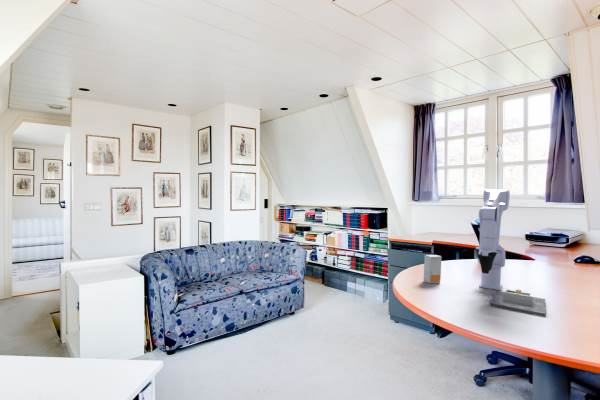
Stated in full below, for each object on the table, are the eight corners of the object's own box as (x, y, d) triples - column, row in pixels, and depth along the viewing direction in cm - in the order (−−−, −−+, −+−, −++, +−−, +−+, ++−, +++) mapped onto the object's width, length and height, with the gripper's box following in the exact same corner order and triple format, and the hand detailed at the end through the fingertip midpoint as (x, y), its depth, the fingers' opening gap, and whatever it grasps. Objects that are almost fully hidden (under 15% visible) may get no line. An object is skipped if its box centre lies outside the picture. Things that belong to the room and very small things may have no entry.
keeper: (496, 293, 135) (496, 280, 134) (545, 301, 125) (545, 288, 125) (489, 305, 118) (490, 292, 118) (545, 316, 109) (546, 301, 109)
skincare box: (429, 283, 146) (430, 256, 146) (423, 281, 151) (424, 254, 150) (440, 283, 148) (441, 256, 148) (434, 280, 152) (435, 254, 152)
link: (502, 300, 122) (503, 291, 122) (504, 296, 126) (504, 288, 126) (532, 305, 117) (533, 296, 117) (532, 301, 121) (533, 293, 121)
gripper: (479, 234, 139) (478, 266, 139) (473, 238, 127) (472, 273, 128) (498, 236, 135) (497, 269, 135) (494, 239, 123) (493, 276, 124)
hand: (486, 271), depth 131 cm, fingers open, 7 cm apart
